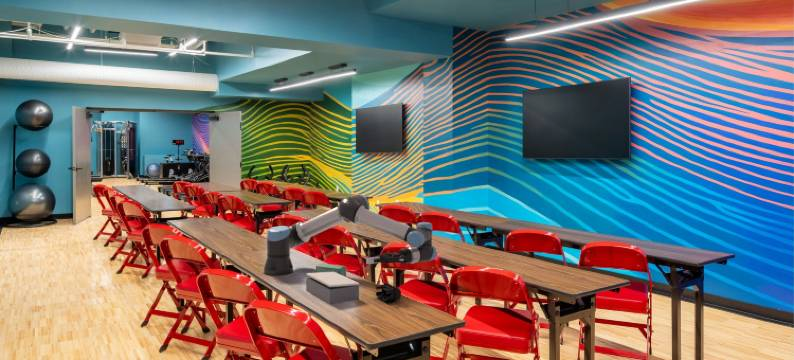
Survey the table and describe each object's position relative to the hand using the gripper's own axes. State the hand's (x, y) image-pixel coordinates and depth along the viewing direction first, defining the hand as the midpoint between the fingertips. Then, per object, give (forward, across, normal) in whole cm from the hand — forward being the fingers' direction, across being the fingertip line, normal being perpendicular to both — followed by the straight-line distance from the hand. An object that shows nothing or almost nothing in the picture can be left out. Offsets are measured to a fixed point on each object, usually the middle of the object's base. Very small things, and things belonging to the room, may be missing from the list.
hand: (367, 261), depth 233 cm
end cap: (+1, -20, -14) cm, 24 cm away
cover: (+18, 0, -6) cm, 19 cm away
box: (+7, +23, -14) cm, 27 cm away
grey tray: (+18, 0, -13) cm, 22 cm away
